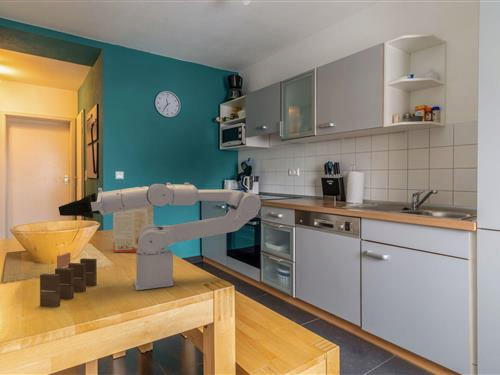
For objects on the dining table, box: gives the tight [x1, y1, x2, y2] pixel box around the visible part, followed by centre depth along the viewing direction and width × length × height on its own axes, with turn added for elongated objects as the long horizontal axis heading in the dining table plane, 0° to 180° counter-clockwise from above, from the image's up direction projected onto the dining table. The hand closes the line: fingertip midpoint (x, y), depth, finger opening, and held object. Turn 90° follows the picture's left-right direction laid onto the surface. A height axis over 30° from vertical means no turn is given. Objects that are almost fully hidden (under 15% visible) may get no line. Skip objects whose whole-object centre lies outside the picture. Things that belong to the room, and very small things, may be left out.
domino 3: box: [54, 267, 75, 300], centre depth 72 cm, size 1×4×7 cm, turn 84°
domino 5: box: [79, 257, 98, 287], centre depth 81 cm, size 1×4×7 cm, turn 84°
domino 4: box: [68, 262, 87, 293], centre depth 77 cm, size 1×4×7 cm, turn 84°
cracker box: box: [112, 203, 154, 254], centre depth 119 cm, size 14×6×21 cm, turn 84°
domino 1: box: [39, 273, 61, 308], centre depth 68 cm, size 1×4×7 cm, turn 84°
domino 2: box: [56, 252, 71, 269], centre depth 86 cm, size 1×4×7 cm, turn 174°
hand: (63, 209), depth 75 cm, fingers open, 7 cm apart
